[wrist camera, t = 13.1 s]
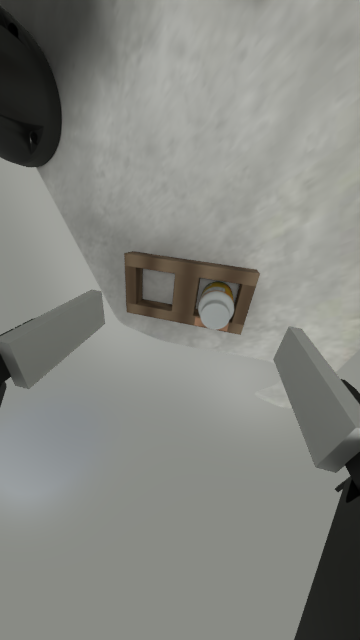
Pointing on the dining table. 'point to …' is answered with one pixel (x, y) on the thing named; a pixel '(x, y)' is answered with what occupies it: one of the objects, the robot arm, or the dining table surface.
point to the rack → (186, 288)
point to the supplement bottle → (216, 305)
